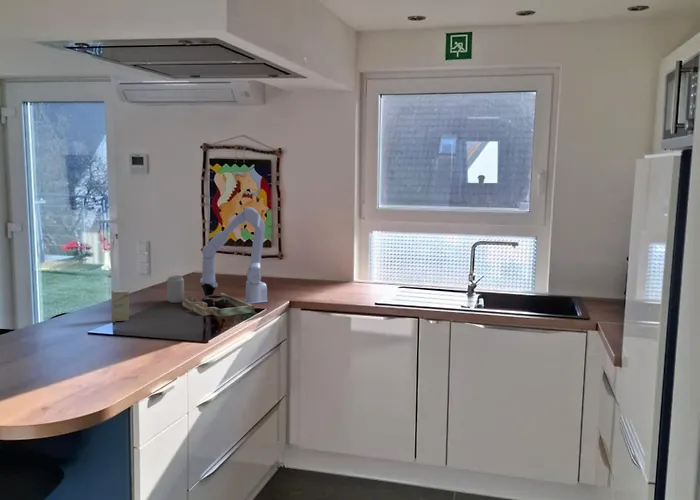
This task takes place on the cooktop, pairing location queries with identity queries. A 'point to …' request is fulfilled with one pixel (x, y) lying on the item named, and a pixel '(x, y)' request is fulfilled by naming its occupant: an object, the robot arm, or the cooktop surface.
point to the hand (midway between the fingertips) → (208, 300)
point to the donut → (215, 300)
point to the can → (175, 289)
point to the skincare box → (120, 305)
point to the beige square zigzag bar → (203, 310)
